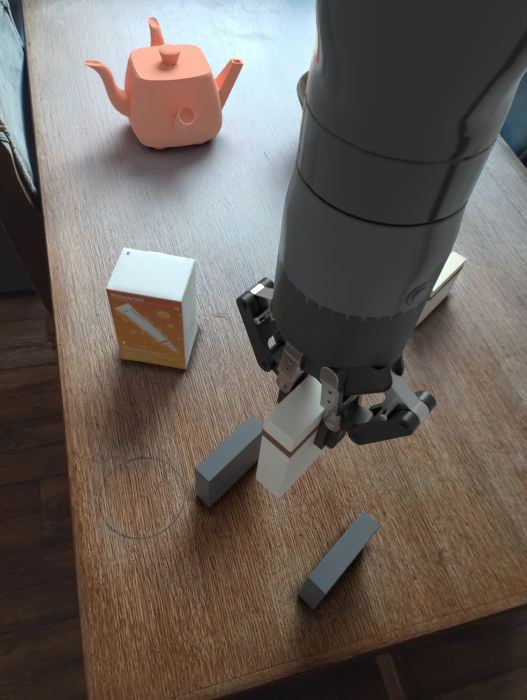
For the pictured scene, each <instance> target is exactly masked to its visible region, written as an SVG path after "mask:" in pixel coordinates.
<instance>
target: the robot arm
mask: <svg viewBox="0 0 527 700" xmlns="http://www.w3.org/2000/svg"><path fill="white" fill-rule="evenodd" d="M314 17H315V19H314V20H315V40H314V45H313V46H314V47H313V49H312V55H311V60H310V64H309V69H308V70H309V74H308V80H307V86H306V93H305V98H304V105H303V111H302V113H301V120H300V128H299V136H298V143H297V149H296V158H295V163H294V165H293V169H292V174H291V177H290V180H289V183H288V187H287V189H286V195H285V199H284V204H283V209H282V210H283V211H282V217H281V219H282V220H281V227H280V235H279V243H278V249H277V250H278V252H277V257H276V258H277V259H276V266H275V272H274V273H275V275H274V281H273V280H272V279H271V278H269V277H268V276H267V277H265V276H264V277H263V278H262V279H260V280H259V281H257V282H256V283H255V284H253V285H251V286H250V287H249V288H247V290H244V292H243V293H242V294H240V295H239V296H238V297H236V299H235V303H236V306H237V310H238V312H239V315H240V317H241V320H242V323H243V326H244V328H245V331H246V334H247V338H248V340H249V343H250V346H251V349H252V350H253V355H254V357H255V360H256V363H257V365H258V366H259V367H260V369H261V370H262V371H264V372H266V373H270V372H271V371H272V372H273V373H274V374H275V375H276V379H275V383H276V384H275V385H276V386H277V387H278V394H277V399H276V402H277V405H278V404H279V403H280V402H281V401H282V400H283V399H284V398H285V397H287V396H288V395H289V394H290V393H291V392H292V391H293V390H294V389H295V388H296V387H297V386H298V385H299V384H300V383H301V382H302V381H304V380H305V379H306V378H307V377H308V376H309V375H311V376H313V377H314V378H316V379H317V380H318V381H319V382H320V383H321V384H322V388H321V400H320V405H321V406H322V407H323V408H324V417H323V419H322V420H321V421H320V425H319V428H318V430H317V433H316V436H315V440H314V443H313V444H315V445H316V446H317V447H318V448H319V449H321V450H322V449H323V448H324V447H325V446H327V448H328V449H329V450H332V449H335V448H336V447H337V445H338V444H339V443H340V442H341V441H342V440H344V438H345V437H346V436H348V438H349V440H350V441H351V442H352V443H354V444H355V445H357V446H365V445H371V444H375V443H379V442H384V441H389V440H394V439H398V438H399V439H400V438H403V437H408V436H412V435H413V434H414V432H415V431H416V430H417V429H418V428H419V427H420V426H421V424H422V423H423V422H424V421H425V420H426V418H427V417H428V415H430V413H431V412H432V411H433V410H434V409H435V408H436V407H437V404H438V403H437V400H436V397H434V395H433V394H431V393H430V392H429V391H427V390H417V391H415V392H414V390H413V389H412V388H411V387H410V386H409V384H408V383H407V382H406V381H405V379H404V378H403V377H402V376H403V375H404V372H405V362H404V358H403V357H404V350H405V349H406V346H407V344H408V342H409V341H410V338H411V336H412V334H413V333H414V330H415V328H416V327H417V326H416V324H417V322H418V319H419V317H420V315H421V313H422V311H423V309H424V307H425V305H426V303H427V301H428V299H429V296H430V294H431V292H432V290H433V288H434V286H435V284H436V282H437V280H438V278H439V276H440V274H441V272H442V270H443V268H444V265H445V263H446V261H447V259H448V257H449V255H450V254H451V253H452V250H453V248H454V246H455V243H456V241H457V238H458V234H459V232H460V229H461V225H462V221H463V217H464V214H465V211H466V208H467V205H468V203H469V200H470V198H471V196H472V193H473V191H474V189H475V187H476V185H477V183H478V181H479V179H480V177H481V174H482V172H483V170H484V168H485V165H486V163H487V162H488V159H489V157H490V155H491V153H492V151H493V148H494V146H495V145H496V143H497V140H498V138H499V136H500V133H501V132H502V131H501V130H502V128H503V126H504V124H505V121H506V120H507V117H508V114H509V112H510V110H511V108H512V107H511V106H512V104H513V101H514V98H515V96H516V93H517V90H518V88H519V85H520V82H521V81H522V78H523V77H524V75H525V74H526V72H527V0H314ZM272 337H273V339H274V342H275V343H274V344H273V345H272V346H269V341H270V339H271V338H272ZM372 394H384V397H385V398H384V400H383V401H382V402H379V403H377V404H374V405H370V406H369V408H366V407H364V406H362V401H363V396H364V395H372Z"/></svg>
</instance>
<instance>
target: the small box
mask: <svg viewBox="0 0 527 700" xmlns="http://www.w3.org/2000/svg"><path fill="white" fill-rule="evenodd" d="M119 254H120V255H119V257H118V260H117V261H116V264H115V266H114V267H113V268H114V269H113V271H112V273H111V275H110V278H109V280H108V282H107V285H106V287H105V291H106V295H107V301H108V304H109V309H110V315H111V319H112V321H113V327H114V330H115V331H114V332H115V334H116V340H117V343H118V348H119V352H120V357H121V359H122V360H127V361H134V362H141V363H146V364H147V363H148V364H152V365H157V366H164V367H169V368H175V369H178V370H179V369H180V370H187V368H188V364H189V361H190V357H191V355H192V350H193V348H194V347H193V346H194V343H195V340H196V336H197V332H198V305H197V302H198V301H197V278H196V259H194V258H189V257H183V256H177V255H172V254H168V253H164V252H159V251H152V250H151V251H149V250H142V249H137V248H130V247H122V248H121V252H120V253H119Z"/></svg>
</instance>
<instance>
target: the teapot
mask: <svg viewBox="0 0 527 700" xmlns="http://www.w3.org/2000/svg"><path fill="white" fill-rule="evenodd" d="M147 22H148V28H149V35H150V46H146V47H141V48H137V49H133V50H131V51H130V53H129V55H128V59H127V65H126V70H125V75H124V85H123V86H124V88H123V89H122V88H120V87H119V86H118V85H117V83H116V80H115V77H114V75H113V72H112V71H111V69H110V67H109V66H107V64H105V63H103V62H102V61H98V60H90V59H89V60H88V59H87V60H83V61H82V64H83V65H84V66H86V67H89V68H90V69H92V70H94V71H95V72H96V73H97V74H98V75H99V77H100V79H101V81H102V83H103V85H104V88H105V92H106V94H107V97H108V100H109V102H110V103H111V105H112V107H113V108H114V109H115V111H117V112H118V113H119V114H120V115H122V116H124V117H127V120H128V121H129V124H130V126H131V129H132V130H133V132H134V135H135V136H136V138H137V139H138V141H139V143H140V144H142V145H143V146H146V147H149V148H154V149H155V150H165V149H166V148H176V147H184V146H190V145H202V144H205V143H206V142H207V141H212V140H214V139H215V138H216V137H217V136H218V134H219V132H220V131H221V128H222V126H223V109H224V107H225V105H226V103H227V100H228V98H229V96H230V94H231V92H232V91H233V88H234V86H235V84H236V81H237V79H238V77H239V75H240V73H241V71H242V69H243V66H244V62H243V60H242V59H241V58H230V59H229V61H228V62H227V64H226V65H225V66H224V67H223V68H222V69H221V71H220V73H219V74H218V75H217V76H216V77H214V74H213V71H212V68H211V66H210V63H209V61H208V59H207V57H206V55H205V54H204V52H203V50H202V49H201V48H200V47H199V46H198V45H194V44H185V43H184V44H183V43H182V44H179V43H178V44H175V43H166V42H165V40H164V36H163V33H162V28H161V25H160V23H159V21H158V20H157V18H155V17H153V16H150V17H148V21H147Z"/></svg>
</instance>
